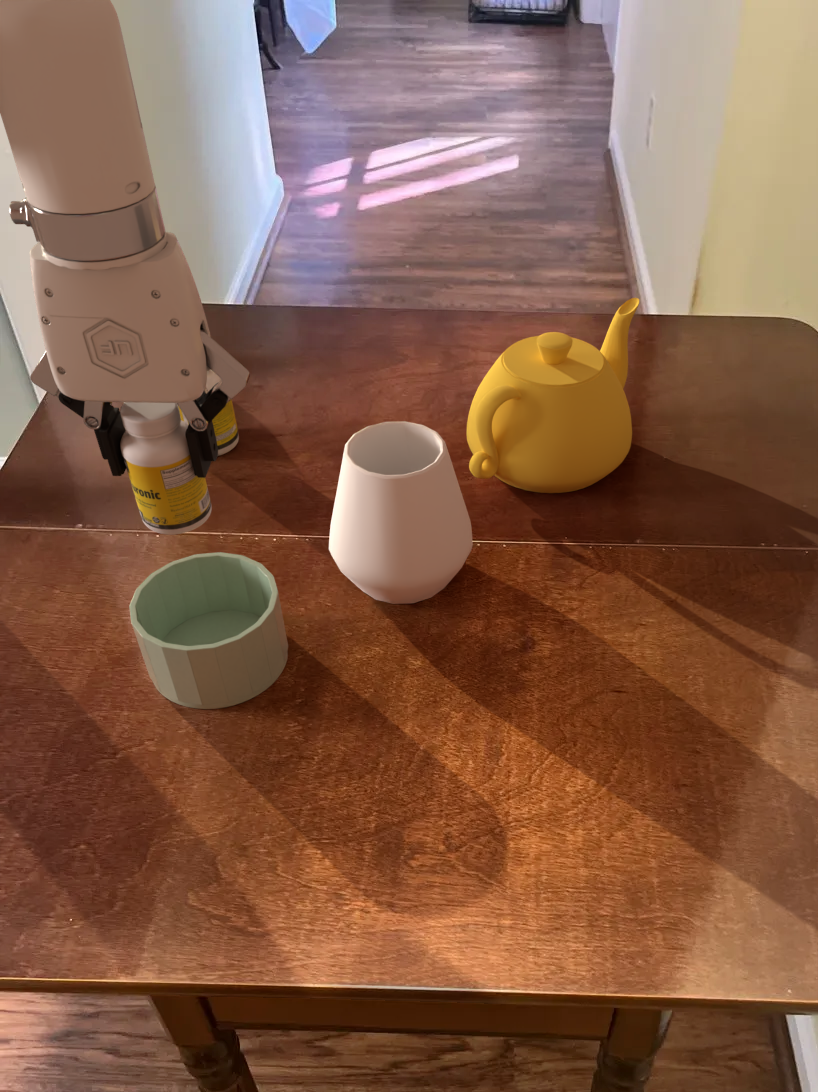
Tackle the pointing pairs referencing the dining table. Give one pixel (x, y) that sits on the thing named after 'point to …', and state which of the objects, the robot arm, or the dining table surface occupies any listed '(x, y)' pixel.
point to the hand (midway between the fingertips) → (163, 464)
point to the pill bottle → (221, 420)
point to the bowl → (210, 629)
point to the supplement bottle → (162, 468)
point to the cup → (399, 514)
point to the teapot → (554, 411)
